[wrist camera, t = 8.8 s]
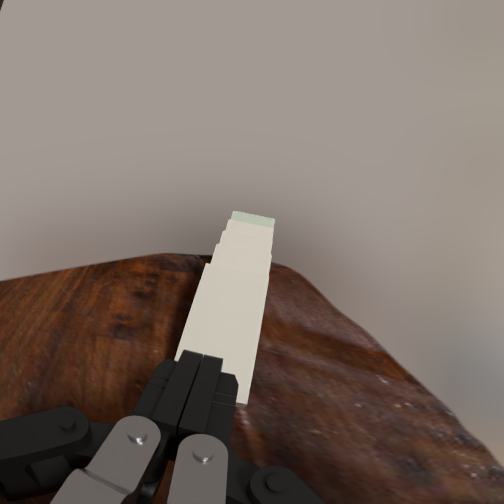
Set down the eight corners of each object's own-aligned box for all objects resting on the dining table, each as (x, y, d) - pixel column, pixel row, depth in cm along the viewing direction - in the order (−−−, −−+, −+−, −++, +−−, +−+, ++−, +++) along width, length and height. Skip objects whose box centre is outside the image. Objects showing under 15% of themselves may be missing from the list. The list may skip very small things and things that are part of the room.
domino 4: (166, 385, 15) (206, 263, 22) (170, 390, 16) (206, 275, 23) (246, 404, 15) (269, 276, 22) (244, 408, 16) (265, 288, 23)
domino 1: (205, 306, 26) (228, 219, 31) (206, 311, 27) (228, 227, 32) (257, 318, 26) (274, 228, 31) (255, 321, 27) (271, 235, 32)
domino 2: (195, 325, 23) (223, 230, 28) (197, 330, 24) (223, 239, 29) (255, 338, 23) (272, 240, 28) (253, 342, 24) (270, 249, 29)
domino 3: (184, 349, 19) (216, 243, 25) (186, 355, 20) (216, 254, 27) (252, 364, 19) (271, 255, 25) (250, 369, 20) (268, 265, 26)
